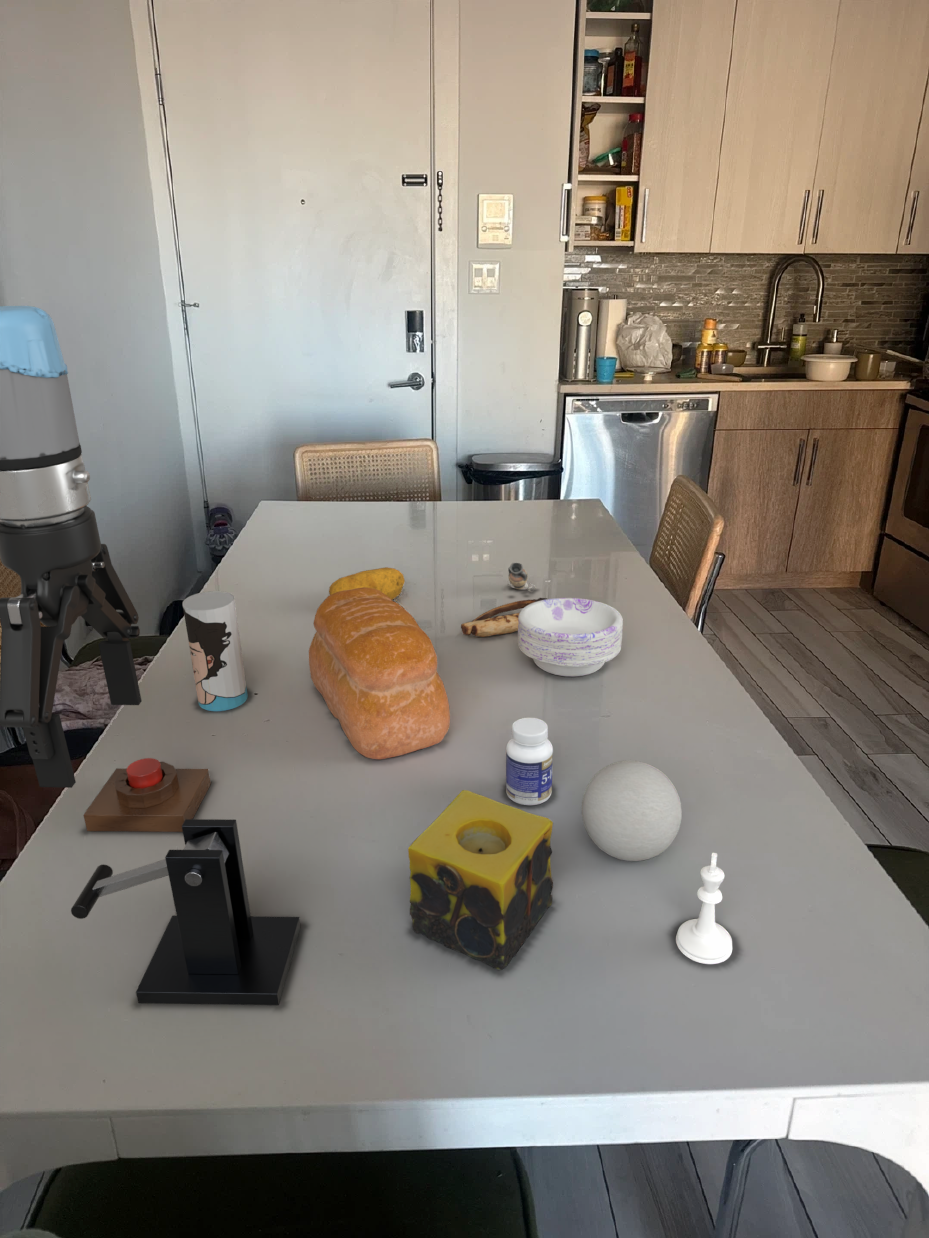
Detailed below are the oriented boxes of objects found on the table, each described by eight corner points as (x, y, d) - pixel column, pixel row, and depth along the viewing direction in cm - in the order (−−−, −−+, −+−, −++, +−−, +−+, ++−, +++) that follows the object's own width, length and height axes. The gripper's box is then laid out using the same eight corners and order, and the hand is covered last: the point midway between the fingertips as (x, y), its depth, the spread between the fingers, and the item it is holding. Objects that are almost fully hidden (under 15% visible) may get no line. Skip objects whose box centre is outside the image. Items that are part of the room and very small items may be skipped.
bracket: (138, 1003, 74) (107, 873, 68) (174, 925, 82) (149, 804, 76) (278, 1005, 73) (259, 874, 68) (300, 927, 81) (285, 805, 76)
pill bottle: (550, 808, 97) (551, 740, 94) (503, 804, 98) (503, 737, 95) (553, 781, 102) (554, 715, 99) (508, 778, 103) (508, 712, 99)
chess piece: (733, 929, 80) (745, 841, 76) (731, 969, 76) (744, 878, 72) (678, 919, 81) (687, 831, 77) (673, 957, 77) (682, 867, 73)
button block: (87, 831, 95) (79, 801, 94) (119, 783, 103) (113, 755, 102) (186, 831, 95) (180, 801, 93) (211, 784, 103) (206, 755, 101)
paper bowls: (592, 635, 139) (594, 589, 136) (639, 676, 126) (642, 626, 122) (502, 650, 134) (502, 602, 131) (541, 695, 121) (542, 643, 118)
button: (124, 789, 96) (121, 775, 95) (136, 770, 99) (133, 757, 99) (156, 789, 96) (153, 775, 95) (167, 770, 99) (164, 757, 98)
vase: (526, 600, 153) (526, 568, 150) (497, 595, 155) (497, 564, 152) (537, 589, 157) (537, 558, 155) (509, 585, 159) (509, 554, 157)
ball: (583, 881, 86) (587, 797, 82) (577, 819, 95) (580, 741, 91) (685, 883, 86) (694, 799, 82) (669, 821, 95) (676, 742, 91)
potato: (414, 606, 151) (412, 569, 148) (339, 622, 145) (335, 584, 143) (396, 591, 157) (394, 556, 155) (323, 606, 152) (320, 570, 149)
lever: (79, 925, 73) (64, 904, 72) (105, 882, 78) (90, 862, 77) (216, 882, 70) (202, 860, 70) (234, 841, 75) (221, 820, 74)
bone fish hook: (541, 609, 150) (445, 627, 143) (541, 584, 148) (444, 600, 141) (569, 628, 142) (469, 647, 135) (570, 600, 140) (469, 619, 133)
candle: (464, 868, 88) (462, 786, 84) (554, 902, 84) (557, 817, 80) (408, 932, 80) (402, 845, 76) (504, 974, 76) (503, 884, 72)
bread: (390, 661, 132) (385, 567, 126) (461, 744, 110) (458, 635, 104) (303, 679, 127) (293, 582, 121) (359, 771, 105) (349, 658, 99)
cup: (221, 683, 126) (207, 587, 120) (257, 693, 123) (245, 595, 117) (187, 704, 121) (171, 605, 114) (225, 715, 118) (210, 613, 112)
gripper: (2, 567, 58) (69, 828, 66) (150, 472, 80) (185, 676, 89) (-106, 567, 58) (-26, 826, 67) (71, 473, 81) (114, 675, 90)
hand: (95, 741), depth 78 cm, fingers open, 13 cm apart
